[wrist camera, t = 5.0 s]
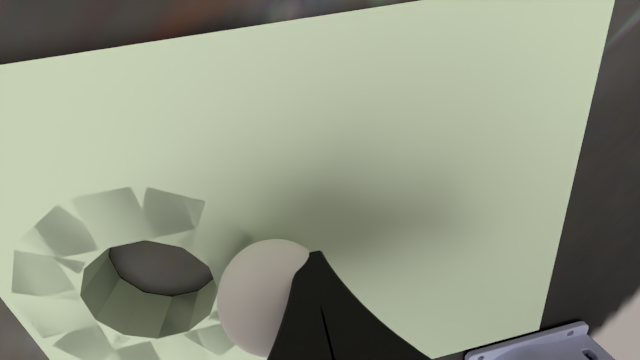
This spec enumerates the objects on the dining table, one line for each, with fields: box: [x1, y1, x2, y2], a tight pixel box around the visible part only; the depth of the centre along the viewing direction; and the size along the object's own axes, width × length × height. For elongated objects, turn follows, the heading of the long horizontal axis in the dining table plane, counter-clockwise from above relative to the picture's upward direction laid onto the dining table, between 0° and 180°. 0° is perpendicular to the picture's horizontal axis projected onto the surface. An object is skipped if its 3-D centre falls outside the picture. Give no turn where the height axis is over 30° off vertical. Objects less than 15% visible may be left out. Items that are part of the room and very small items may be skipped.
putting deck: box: [0, 0, 615, 360], centre depth 14 cm, size 24×18×2 cm
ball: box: [217, 239, 310, 358], centre depth 11 cm, size 4×4×4 cm
